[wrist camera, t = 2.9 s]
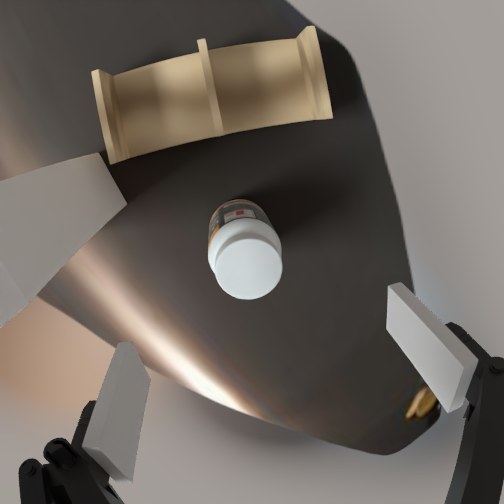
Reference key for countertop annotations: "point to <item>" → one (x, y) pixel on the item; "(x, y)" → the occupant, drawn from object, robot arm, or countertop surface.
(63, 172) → the milk
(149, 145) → the rack
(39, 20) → the countertop surface
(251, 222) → the pill bottle
